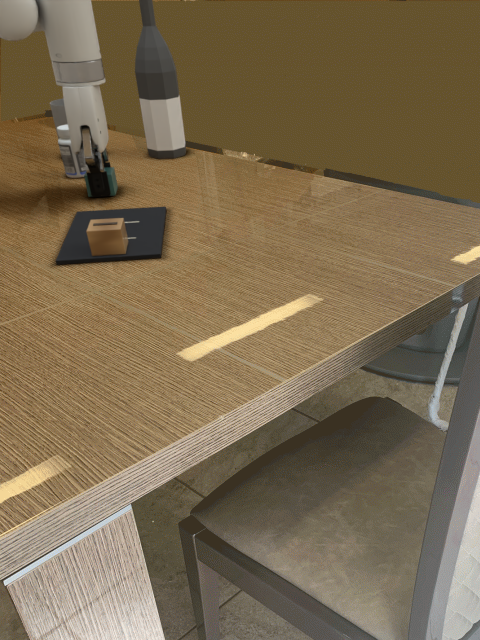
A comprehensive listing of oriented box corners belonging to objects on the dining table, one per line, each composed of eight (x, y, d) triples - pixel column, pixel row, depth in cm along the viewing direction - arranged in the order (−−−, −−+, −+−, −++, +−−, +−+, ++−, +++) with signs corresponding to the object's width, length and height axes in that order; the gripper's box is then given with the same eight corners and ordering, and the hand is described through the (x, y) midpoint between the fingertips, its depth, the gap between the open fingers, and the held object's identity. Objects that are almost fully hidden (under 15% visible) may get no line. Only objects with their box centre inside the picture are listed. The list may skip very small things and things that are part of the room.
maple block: (92, 256, 88) (86, 230, 86) (96, 243, 91) (90, 218, 89) (125, 254, 88) (120, 228, 86) (128, 241, 92) (123, 216, 90)
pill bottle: (91, 170, 123) (80, 122, 118) (93, 176, 119) (83, 128, 114) (65, 172, 121) (53, 124, 116) (66, 179, 118) (55, 130, 113)
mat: (56, 264, 87) (55, 260, 87) (77, 215, 103) (76, 211, 102) (161, 258, 89) (160, 253, 88) (166, 210, 104) (165, 206, 104)
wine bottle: (177, 160, 128) (151, -24, 110) (140, 157, 130) (109, -24, 111) (194, 150, 134) (173, -26, 116) (159, 147, 136) (132, -26, 118)
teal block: (88, 196, 110) (83, 175, 107) (91, 188, 113) (87, 167, 111) (115, 195, 110) (111, 173, 108) (117, 187, 114) (113, 166, 111)
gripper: (63, 65, 107) (87, 178, 118) (44, 82, 93) (73, 208, 104) (109, 63, 107) (129, 176, 119) (97, 81, 94) (120, 205, 105)
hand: (102, 189), depth 111 cm, fingers closed on teal block, 4 cm apart
